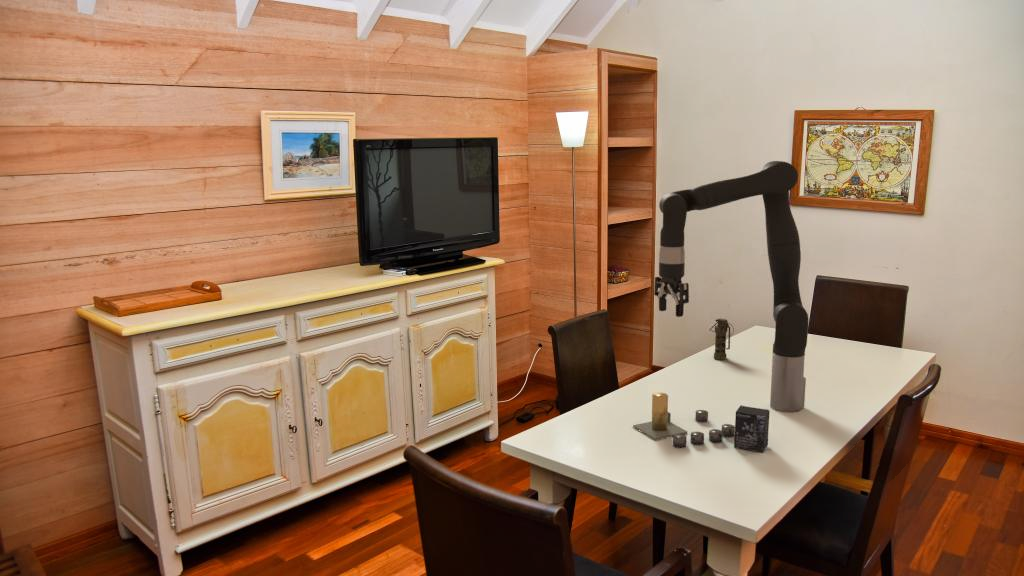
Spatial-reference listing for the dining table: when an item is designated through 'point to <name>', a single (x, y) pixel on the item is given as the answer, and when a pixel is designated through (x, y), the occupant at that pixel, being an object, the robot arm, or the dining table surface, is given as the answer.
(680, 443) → the spacers
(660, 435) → the pad
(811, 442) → the dining table surface
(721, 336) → the grenade
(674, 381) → the dining table surface
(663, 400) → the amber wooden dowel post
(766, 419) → the box
